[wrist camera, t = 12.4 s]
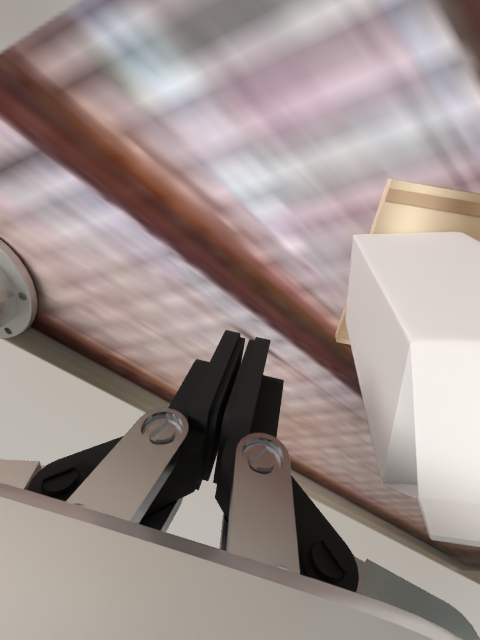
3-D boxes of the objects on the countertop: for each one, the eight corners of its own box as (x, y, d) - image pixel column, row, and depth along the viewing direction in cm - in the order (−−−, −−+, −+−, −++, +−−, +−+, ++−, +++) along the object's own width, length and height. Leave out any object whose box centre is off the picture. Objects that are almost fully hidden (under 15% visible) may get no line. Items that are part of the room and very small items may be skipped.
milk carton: (439, 322, 25) (694, 654, 8) (344, 320, 26) (406, 602, 10) (461, 230, 22) (948, 481, 5) (352, 233, 23) (464, 440, 7)
